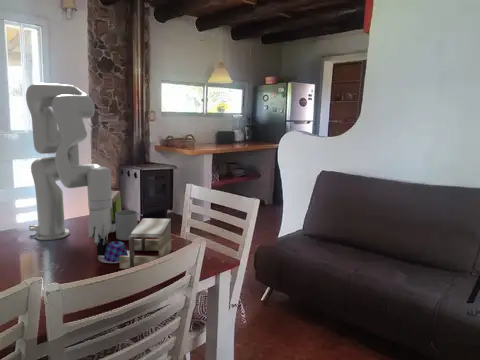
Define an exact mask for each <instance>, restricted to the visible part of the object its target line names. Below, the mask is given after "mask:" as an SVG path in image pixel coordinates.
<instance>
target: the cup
mask: <svg viewBox="0 0 480 360" xmlns="http://www.w3.org/2000/svg"><path fill="white" fill-rule="evenodd" d="M115 219H116V230H115V238H116V239H117V240H119V241H129V236H131V233H132V231H133V230H134V229H135V228H136V227H137V225H138V224H139V223H138V211H136V210H132V209H125V210H124V209H123V210H121V211H118V212H116V213H115ZM134 239H138V237H134Z"/></svg>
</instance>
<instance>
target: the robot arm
mask: <svg viewBox="0 0 480 360" xmlns="http://www.w3.org/2000/svg"><path fill="white" fill-rule="evenodd" d="M25 101H26V105H27V109H28V111H29V113H30V114H29V115H31V128H32V138H33V139H32V140H33V147H34V150H35V151H36V152H37V153H38V154H42V155H52V154H53V155H54V154H55V156H48V157H47V156H46V157H40V158H37V159H35V160H34V161H33V162H32V163H31V164H30V165H31V166H30V171H31V175H32V180H33V184H34V189H35V190H34V191H35V200H36V209H37V210H36V211H37V212H36V213H37V222H38V223H37V224H29V228H28V229H29V232H33V231H34V232H35V234H34V238H35V239H37V240H41V241H53V240H59V239H63V238H65V237H67V236H69V235H70V230H69V229H68V228H66V226H65V224H66V223H65V221H66V220H65V208H64V192H63V190H62V188H61V187H60V185H58V184H57V183H56V182H59V181H60V183H61V184H62V185H63V186H64V187H65V188H67V189H76V188H77V189H78V188H83V187H87V199H88V200H87V202H88V203H87V204H88V210H89V209H90V211H88V213H89V214H88V238H89V239H90V240H92V239H93V238H94V241H93V242H94V244H95V245H96V256H104V255H105V251H106V246H107V245H108V244H109V243H108V242H109V237H108V235H109V234H110V233H111V232H110V231H111V229H112V221H111V210H110V209H111V208H112V194H111V191H112V173H111V169H110V168H109V167H106V166H101V165H99V164H98V163H87V164H84V163H83V164H80V153H79V144H80V143H81V142H83V141H84V140H85V139H86V138H87V137H88V131H87V128H86V126H85V123H84V120H83V119H90V118H92V117H94V115H95V111H96V106H95V103H94V101H93V99H92V98H91V96H89V95H88V93H86V92H84V91H83V90H81V89H80V88H79V87H77V86H75V85H72V84H66V83H65V84H63V83H62V84H61V83H53V82H51V83H49V82H48V83H47V82H38V83H32V84H30V85H29V86H28V87H27V89H26V92H25Z"/></svg>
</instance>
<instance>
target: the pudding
mask: <svg viewBox="0 0 480 360" xmlns="http://www.w3.org/2000/svg"><path fill="white" fill-rule="evenodd" d="M97 256H98V255H97ZM119 256H129V250H128V249H127V248H126V245H125V242H122V241H112V242H111V241H110V242H109V243H108V245H107V246H106V251H105V255H104V256H98V257H97V259H98V261H99V262H101V263H105V264H106V263H107V264H118V263H119V264H120V262H119Z"/></svg>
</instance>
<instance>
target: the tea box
mask: <svg viewBox="0 0 480 360" xmlns="http://www.w3.org/2000/svg"><path fill="white" fill-rule="evenodd" d="M111 194H112V208H111V209H110V210H111V221H112V229H111V231H110V232H109V233H114V232H115V233H116V219H115V213H116V212H118V211H122V202H121V201H122V200H121V190H111ZM88 210H89V211H90V209H89V208H88ZM89 211H88V212H89Z"/></svg>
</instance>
